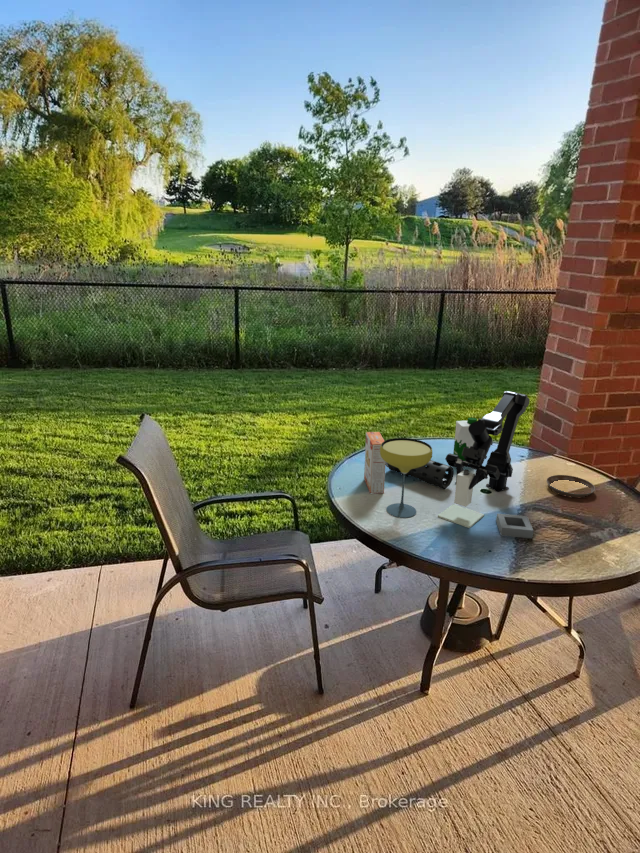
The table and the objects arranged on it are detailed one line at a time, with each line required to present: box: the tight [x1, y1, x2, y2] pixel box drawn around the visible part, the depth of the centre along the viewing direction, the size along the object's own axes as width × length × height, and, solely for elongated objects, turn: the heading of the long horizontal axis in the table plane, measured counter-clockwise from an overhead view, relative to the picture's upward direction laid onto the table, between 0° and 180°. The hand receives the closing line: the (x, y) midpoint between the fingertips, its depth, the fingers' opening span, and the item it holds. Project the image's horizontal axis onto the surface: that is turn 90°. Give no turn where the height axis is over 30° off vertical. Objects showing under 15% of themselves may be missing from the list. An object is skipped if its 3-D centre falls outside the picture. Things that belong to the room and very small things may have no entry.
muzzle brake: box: [385, 459, 455, 490], centre depth 214 cm, size 10×28×10 cm, turn 47°
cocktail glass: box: [380, 437, 433, 519], centre depth 185 cm, size 18×18×25 cm
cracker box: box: [363, 431, 386, 494], centre depth 205 cm, size 14×6×21 cm, turn 5°
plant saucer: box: [546, 474, 596, 498], centre depth 209 cm, size 18×18×3 cm
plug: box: [453, 468, 475, 508], centre depth 183 cm, size 4×4×12 cm
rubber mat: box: [437, 503, 485, 529], centre depth 186 cm, size 12×12×1 cm
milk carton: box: [452, 416, 478, 461], centre depth 233 cm, size 9×9×20 cm
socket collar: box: [495, 512, 534, 539], centre depth 177 cm, size 10×10×3 cm
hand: (462, 487), depth 181 cm, fingers closed on plug, 4 cm apart
